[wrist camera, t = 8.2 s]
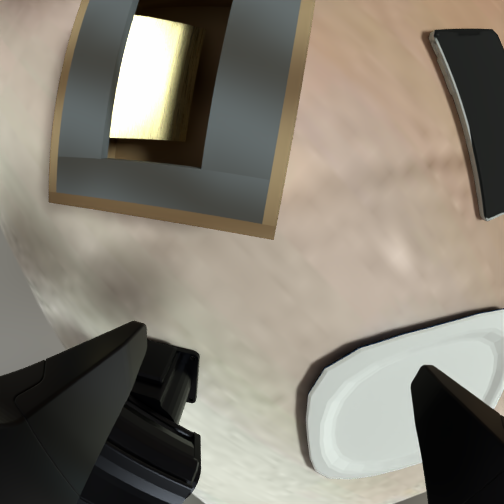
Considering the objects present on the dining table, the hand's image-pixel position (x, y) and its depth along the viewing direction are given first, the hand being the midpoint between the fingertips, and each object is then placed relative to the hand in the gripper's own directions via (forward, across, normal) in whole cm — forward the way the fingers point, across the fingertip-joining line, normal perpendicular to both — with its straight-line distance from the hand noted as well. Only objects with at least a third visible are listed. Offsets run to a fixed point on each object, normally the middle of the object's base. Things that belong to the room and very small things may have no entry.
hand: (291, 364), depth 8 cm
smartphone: (+13, -15, -13) cm, 24 cm away
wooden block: (+11, +8, -9) cm, 16 cm away
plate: (+13, -19, +16) cm, 28 cm away
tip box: (+12, +7, -9) cm, 17 cm away
